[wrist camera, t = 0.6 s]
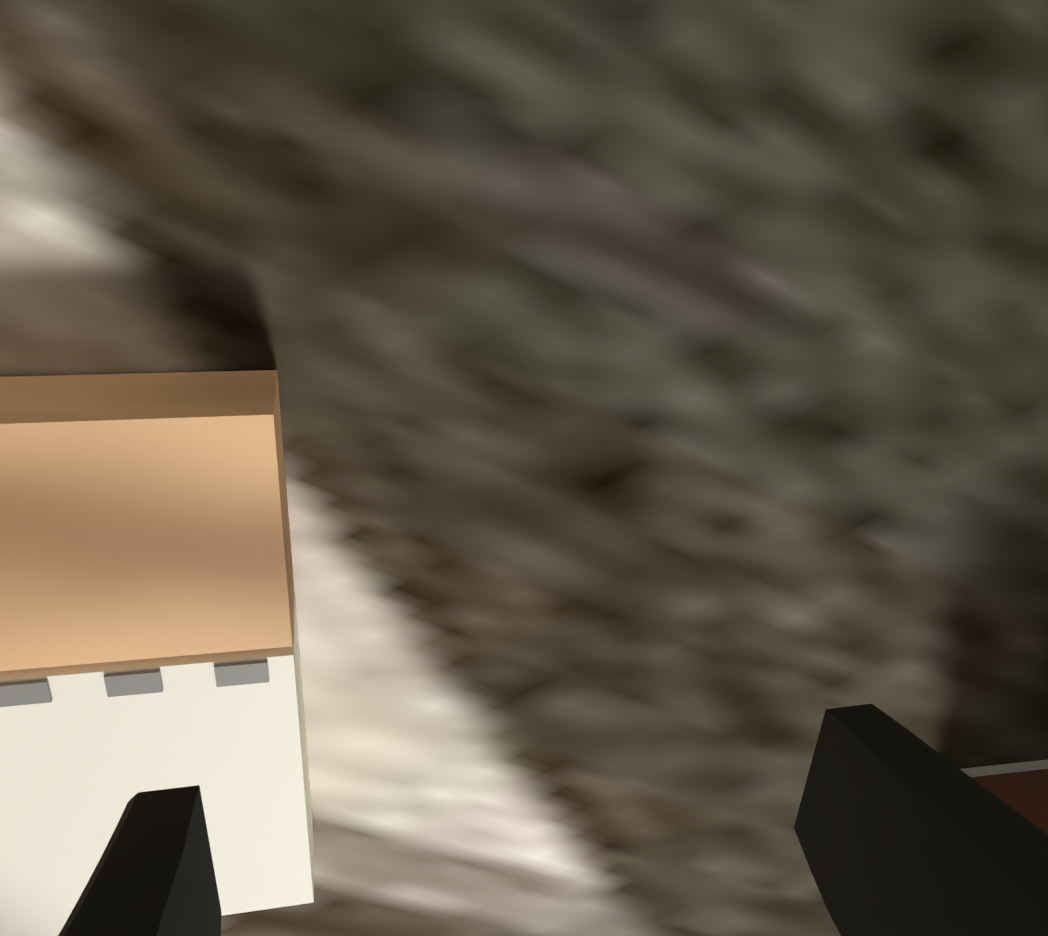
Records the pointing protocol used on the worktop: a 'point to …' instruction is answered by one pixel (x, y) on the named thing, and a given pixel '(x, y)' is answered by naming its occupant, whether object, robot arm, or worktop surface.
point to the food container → (1018, 787)
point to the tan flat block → (142, 517)
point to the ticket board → (153, 774)
